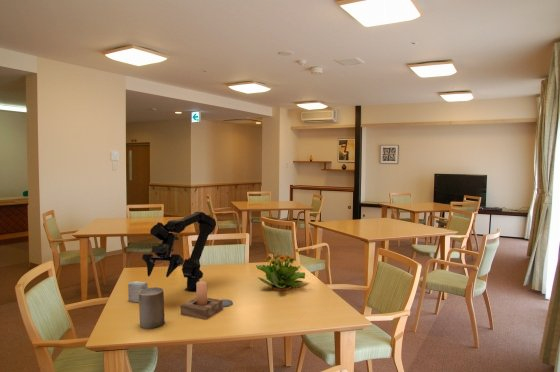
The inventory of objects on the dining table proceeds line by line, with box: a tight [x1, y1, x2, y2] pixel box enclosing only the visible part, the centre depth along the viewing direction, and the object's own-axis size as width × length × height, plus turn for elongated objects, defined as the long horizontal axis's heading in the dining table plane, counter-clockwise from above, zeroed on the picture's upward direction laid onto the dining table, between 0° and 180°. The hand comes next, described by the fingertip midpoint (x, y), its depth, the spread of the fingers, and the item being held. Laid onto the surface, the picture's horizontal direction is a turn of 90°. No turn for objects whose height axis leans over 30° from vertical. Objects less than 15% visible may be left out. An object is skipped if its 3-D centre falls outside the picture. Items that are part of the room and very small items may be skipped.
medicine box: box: [127, 280, 149, 303], centre depth 188 cm, size 8×4×9 cm, turn 74°
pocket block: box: [180, 296, 224, 320], centre depth 175 cm, size 13×13×4 cm
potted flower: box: [256, 253, 306, 292], centre depth 206 cm, size 25×24×18 cm
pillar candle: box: [138, 287, 166, 330], centre depth 161 cm, size 10×10×15 cm
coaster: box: [222, 299, 233, 308], centre depth 184 cm, size 8×8×1 cm
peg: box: [196, 280, 208, 306], centre depth 175 cm, size 4×4×13 cm
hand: (157, 276), depth 179 cm, fingers open, 9 cm apart
